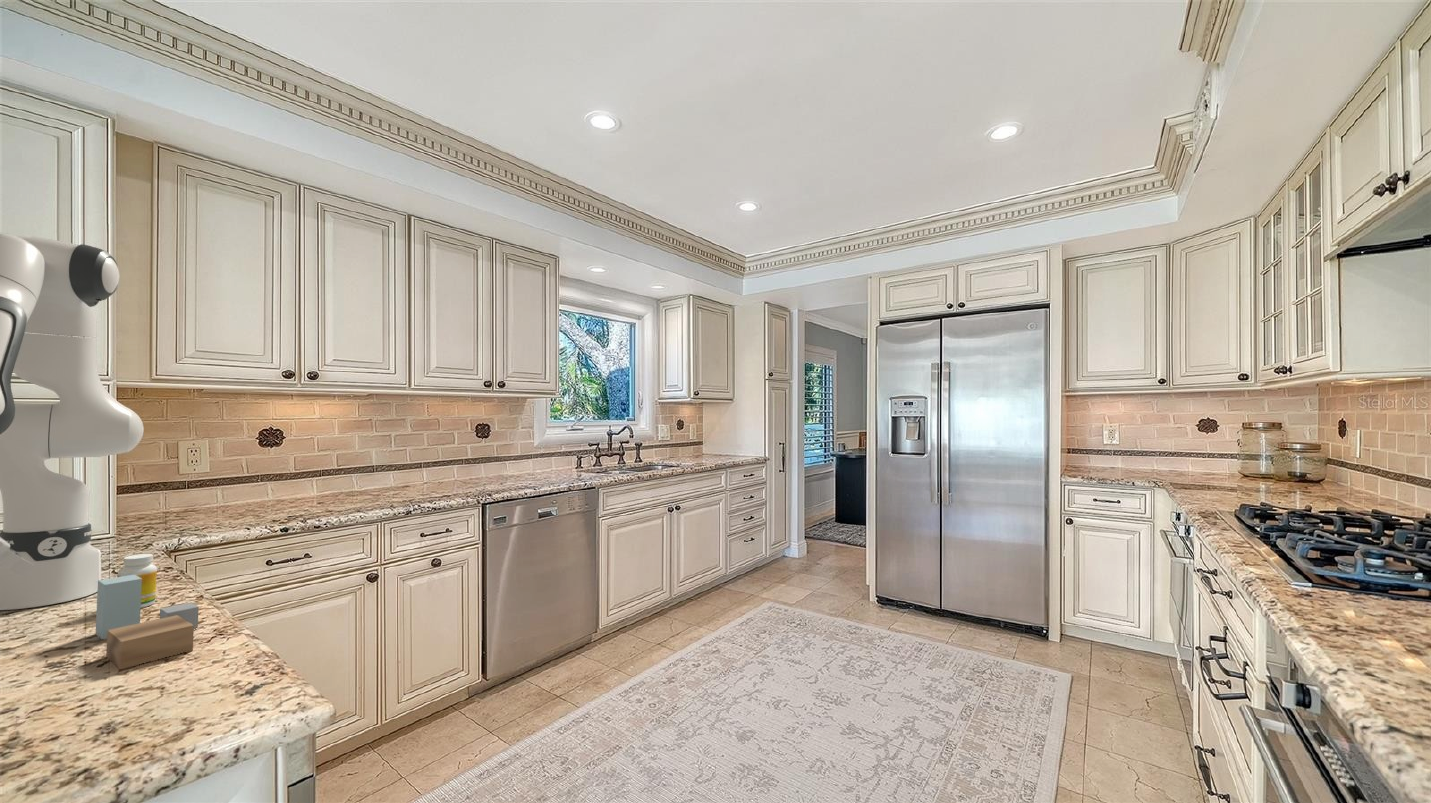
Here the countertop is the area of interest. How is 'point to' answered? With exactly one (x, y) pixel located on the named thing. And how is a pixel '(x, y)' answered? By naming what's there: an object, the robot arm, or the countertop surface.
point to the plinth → (149, 641)
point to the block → (182, 612)
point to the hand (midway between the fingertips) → (22, 565)
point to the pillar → (118, 603)
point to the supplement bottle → (142, 575)
